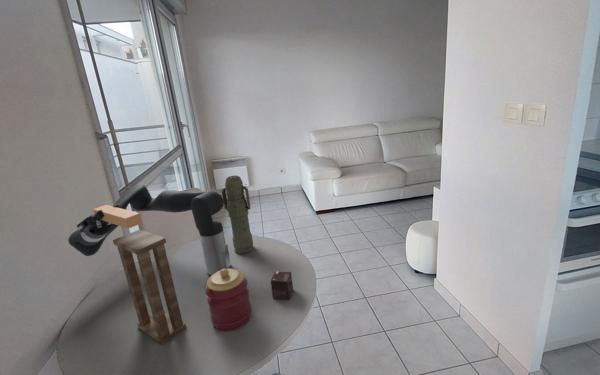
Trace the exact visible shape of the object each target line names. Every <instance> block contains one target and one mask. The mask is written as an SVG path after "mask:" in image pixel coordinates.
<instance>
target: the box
mask: <svg viewBox="0 0 600 375" xmlns="http://www.w3.org/2000/svg"><path fill="white" fill-rule="evenodd" d="M270 286H271V293H272V299H275V300H290V299H291V298H292V297H291V296H292V294H293V291H294V284H293V277H292V272H291V271H275V272H274V274H273V275H272V277H271V279H270Z"/></svg>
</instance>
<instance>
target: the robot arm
mask: <svg viewBox="0 0 600 375" xmlns="http://www.w3.org/2000/svg"><path fill="white" fill-rule="evenodd" d="M129 205H130V207H131V208H132V209H133V210H134V211H135V212H137V211H138V212H150V211H151V212H152V211H153V212H154V211H155V212H165V213H166V212H167V213H182V212H183V213H184V212H188V211H191V212H192V216H193V219H194V224H195V227H196V229H197V230H198V234H199V239H200V243H201V244H200V245H201V250H202V255H203V257H204V263H205V270H206V273H207V274H208V275H209V276H212V275H213V274H215V273H216V272H218V271H220V270H222V269H231V265H232V264H231V263H232V262H231V259H230V252H229V246H228V244H226V237H225V234H224V233H225V232H224V227H223V224H222V222H221V221H218V220H213V217H212V216H214V215H216V214H217V213H219V212H220V211H221V210H222V209H223V208H224V200H223V196H222V195H221V194H220V193H218V192H217V191H214V190H207V191H181V190H164V191H161V192H160V193H159V194H158V195H157V196H156V197H155V198H153V197H152V195H151V193H150V190H148V188H147V186H146V185H145V184H142V183H139V184H135V185H133V186H132V187H129V188H128V189H126V190H125V192H124V193H123V194H122V195H121V196H120V197H119V198H118V200H117V201H116V202H115V203H114V204H113V205H112V206H113V207H117V208H121V209H125V210H127V208H128V206H129ZM103 217H104V214H103V212H102V210H98V212H97V213H96V214H94V213H93V214H91V215H89V216H87V217H85V219H83V220H82V221H81V222H79V223H78V224H76V228H77V230H75V231H73V232H72V233H71V234H70V235H69V237H68V239H67V240H68V244H69V246H71V247H73V249H75V250H77V251H78V252H80V253H81V254H82V255H84V256H85V257H91V256H93V255H95V254H97V253H98V252H99V250H100V249H101V248H102V246H103V243H104V242H105V240H106V239H107V238H108V236H109V235H110V234H111V233H113V232H114V231H115V229H117V228H119V227H120V226H119V225H115V224H112V223H109V222H106V221H103V220H102V218H103Z"/></svg>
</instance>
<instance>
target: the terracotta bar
mask: <svg viewBox="0 0 600 375" xmlns="http://www.w3.org/2000/svg"><path fill="white" fill-rule="evenodd" d="M98 210H102V212H103V214H104V217H103V218H102V220H103V221H106V222H109V223H112V224H115V225H119V226H118V227H121V228H125V229H128V230H129V229H131V228H133V227H136V226H139V225H141V224H143V220H142V217H141V214H140V212H137V211H132V210H129V209H126V210H125V209H121V208H117V207H113V205H109V204H105V205H101V206H99V207H95V208H93V209H92V211H93V214H96V213H97V212H98Z"/></svg>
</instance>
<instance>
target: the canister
mask: <svg viewBox="0 0 600 375" xmlns="http://www.w3.org/2000/svg"><path fill="white" fill-rule="evenodd" d="M204 294H205V295H206V296H207V299H206V300H207V304H208V308H209V313H210V320H211V322H212V325H213V327H214V328H215V329H217V330H219V331H223V332H224V331H225V332H227V331H228V332H229V331H233V330H234V331H235V330H238V329H239V328H242V327H243V326H245V325H246V324H247V323H248V322H249V320H250V319H251V318H252V316H253V315H252V312H253V306H252V304H251V299H250V289H249V288H248V279H247V278H246V277H245V274H244V273H243V272H242V271H241V270H240V269H236V268H235V269H234V268H229V269H222V270H220V271H218V272H216V273H215V274H213V275H210V277H209V278H208V279H207V280H206V287H205V291H204Z"/></svg>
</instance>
